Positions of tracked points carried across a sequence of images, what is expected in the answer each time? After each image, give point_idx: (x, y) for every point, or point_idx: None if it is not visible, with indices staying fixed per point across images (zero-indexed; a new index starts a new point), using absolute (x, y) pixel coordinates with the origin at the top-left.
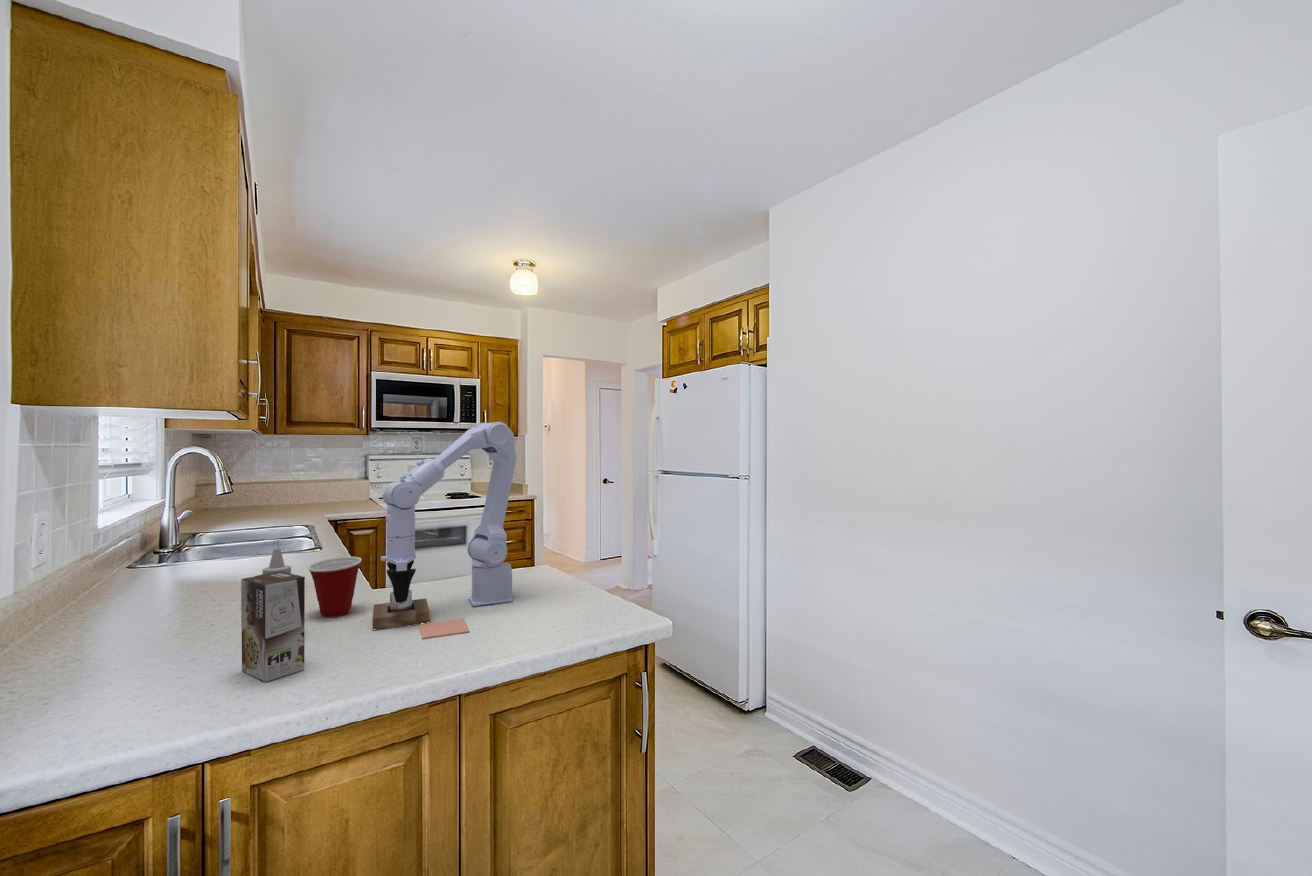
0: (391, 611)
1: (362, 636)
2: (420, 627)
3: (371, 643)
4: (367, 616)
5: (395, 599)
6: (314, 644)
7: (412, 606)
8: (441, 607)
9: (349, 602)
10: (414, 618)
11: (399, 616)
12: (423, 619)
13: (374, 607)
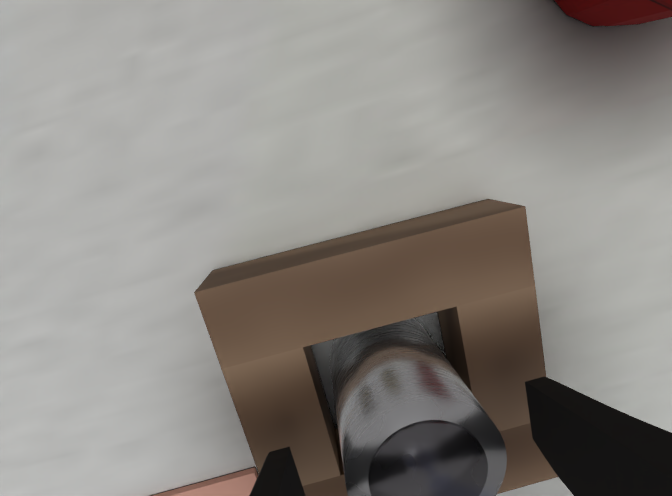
0: (353, 352)
1: (127, 243)
2: (202, 487)
3: (9, 321)
4: (487, 166)
5: (260, 470)
6: (6, 4)
7: None
8: (527, 489)
9: (637, 8)
10: None
11: (242, 420)
12: None
13: (452, 231)
